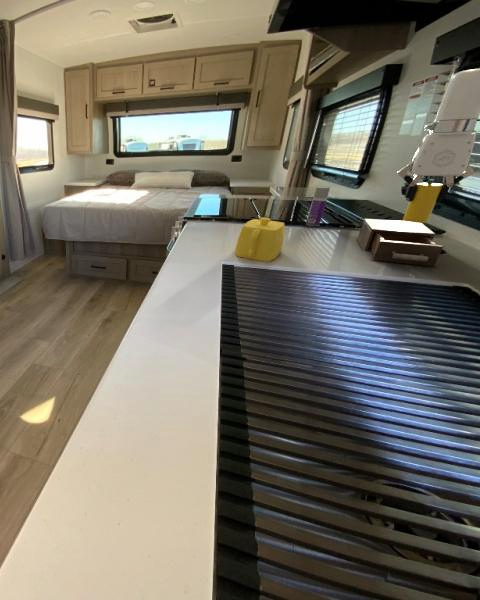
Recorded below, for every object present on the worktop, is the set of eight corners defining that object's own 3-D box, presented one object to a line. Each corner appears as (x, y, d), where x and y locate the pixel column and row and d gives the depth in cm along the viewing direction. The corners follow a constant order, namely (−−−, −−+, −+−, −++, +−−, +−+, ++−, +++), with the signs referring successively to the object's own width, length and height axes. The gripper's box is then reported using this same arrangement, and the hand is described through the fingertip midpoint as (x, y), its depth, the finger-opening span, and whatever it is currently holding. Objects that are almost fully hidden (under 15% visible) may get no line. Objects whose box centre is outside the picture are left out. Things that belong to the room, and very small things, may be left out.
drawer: (438, 271, 89) (449, 251, 86) (375, 264, 95) (383, 245, 93) (419, 251, 103) (427, 233, 100) (365, 246, 109) (371, 229, 106)
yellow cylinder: (424, 219, 95) (441, 178, 90) (430, 223, 91) (448, 180, 86) (400, 218, 98) (415, 178, 93) (405, 222, 94) (421, 180, 89)
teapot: (248, 242, 120) (255, 209, 115) (286, 248, 113) (295, 213, 107) (228, 257, 107) (234, 221, 102) (270, 265, 100) (279, 227, 94)
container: (321, 226, 135) (333, 187, 128) (310, 226, 135) (320, 188, 129) (314, 223, 139) (325, 186, 133) (303, 223, 140) (313, 186, 133)
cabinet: (424, 258, 100) (435, 233, 97) (363, 252, 107) (372, 229, 103) (410, 244, 111) (420, 222, 108) (356, 239, 118) (364, 218, 115)
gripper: (411, 130, 85) (385, 202, 93) (508, 125, 77) (471, 205, 85) (403, 129, 91) (380, 197, 99) (493, 125, 83) (460, 199, 91)
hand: (423, 200), depth 92 cm, fingers closed on yellow cylinder, 5 cm apart
